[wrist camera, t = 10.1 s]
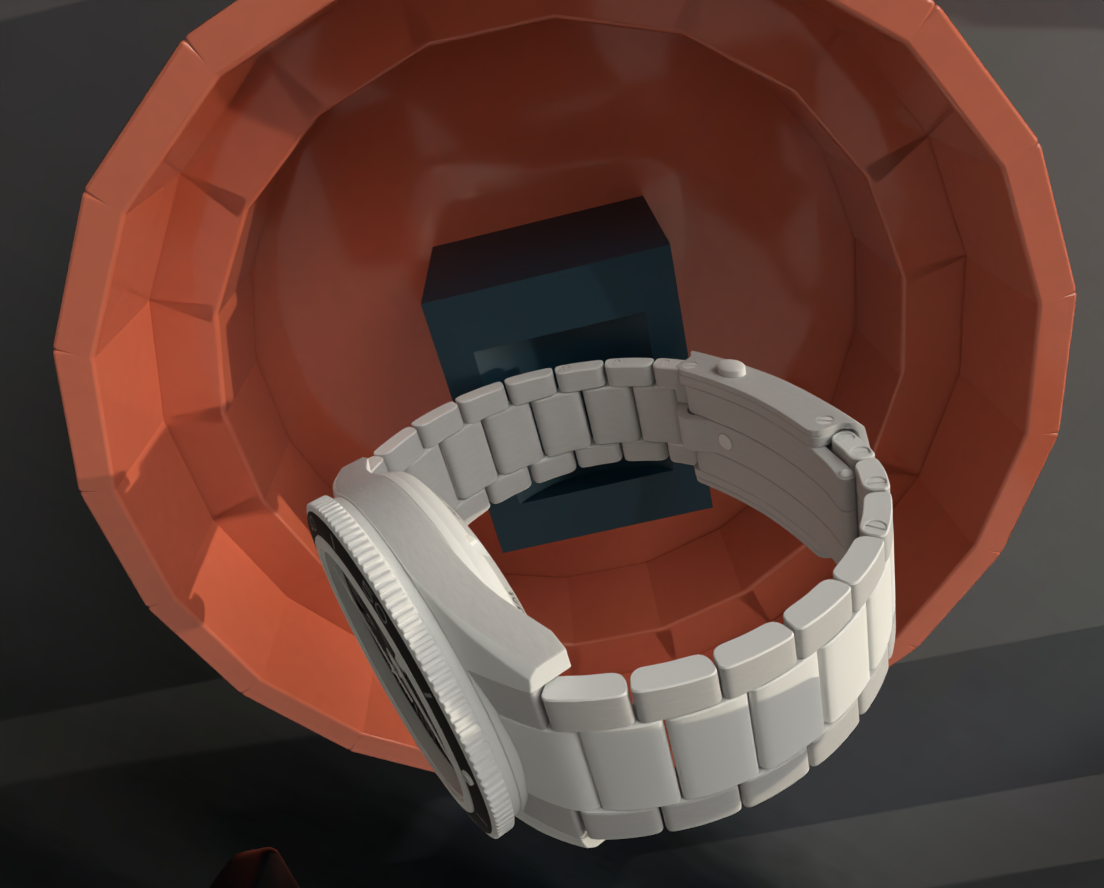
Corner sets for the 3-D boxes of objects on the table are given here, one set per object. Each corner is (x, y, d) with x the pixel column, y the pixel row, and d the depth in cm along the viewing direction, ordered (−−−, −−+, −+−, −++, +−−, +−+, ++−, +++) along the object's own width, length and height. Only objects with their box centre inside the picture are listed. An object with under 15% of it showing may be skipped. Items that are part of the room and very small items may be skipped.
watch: (339, 269, 17) (151, 668, 8) (731, 173, 17) (1028, 478, 7) (422, 491, 20) (356, 979, 11) (760, 416, 20) (1001, 859, 10)
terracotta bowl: (915, 547, 23) (1025, 708, 18) (323, 657, 24) (280, 839, 19) (937, -201, 14) (1151, -266, 10) (26, 11, 15) (-186, 45, 11)
